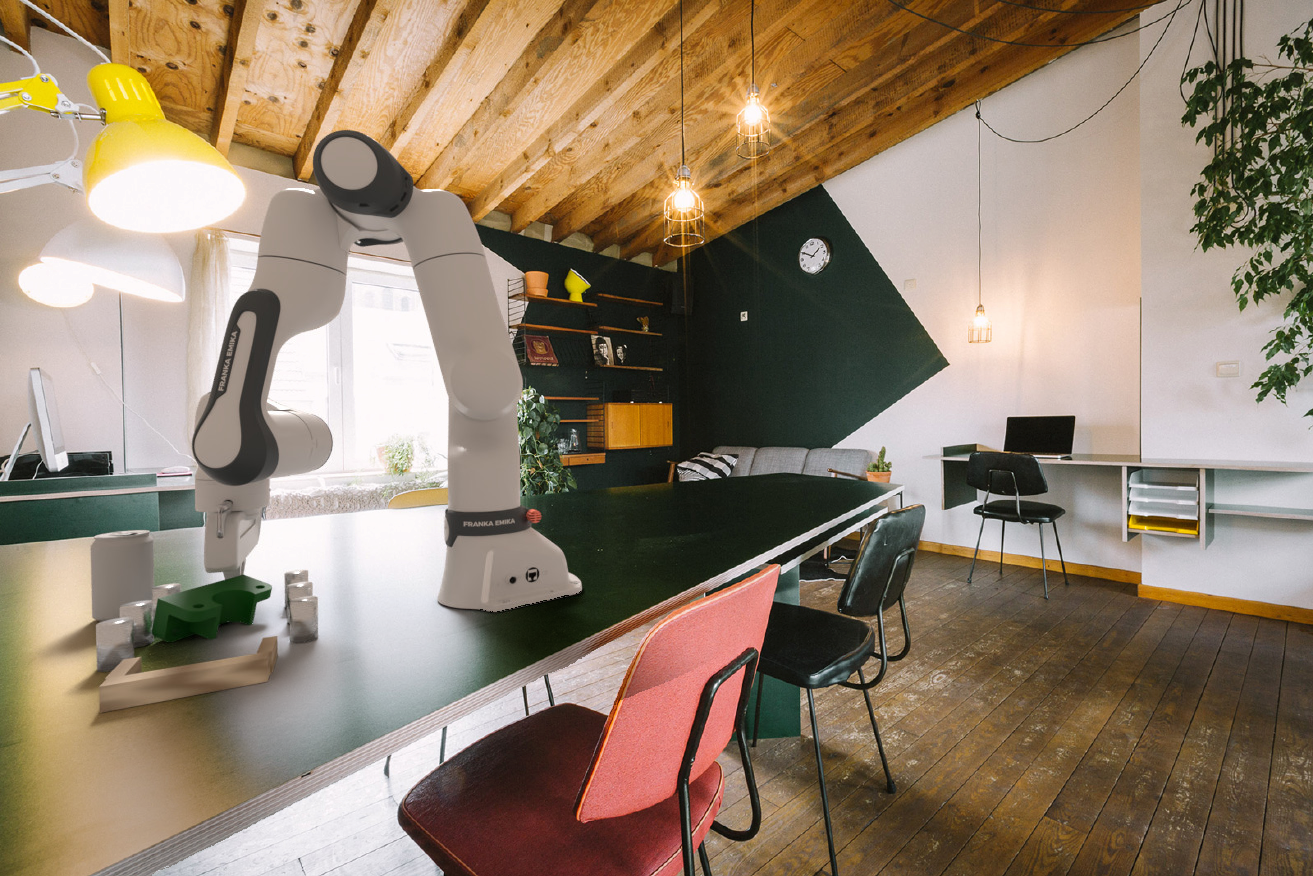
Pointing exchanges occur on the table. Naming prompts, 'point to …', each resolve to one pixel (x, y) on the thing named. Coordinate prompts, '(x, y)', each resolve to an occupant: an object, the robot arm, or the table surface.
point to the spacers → (138, 616)
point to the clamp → (208, 608)
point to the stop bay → (184, 678)
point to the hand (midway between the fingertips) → (234, 588)
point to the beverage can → (120, 571)
